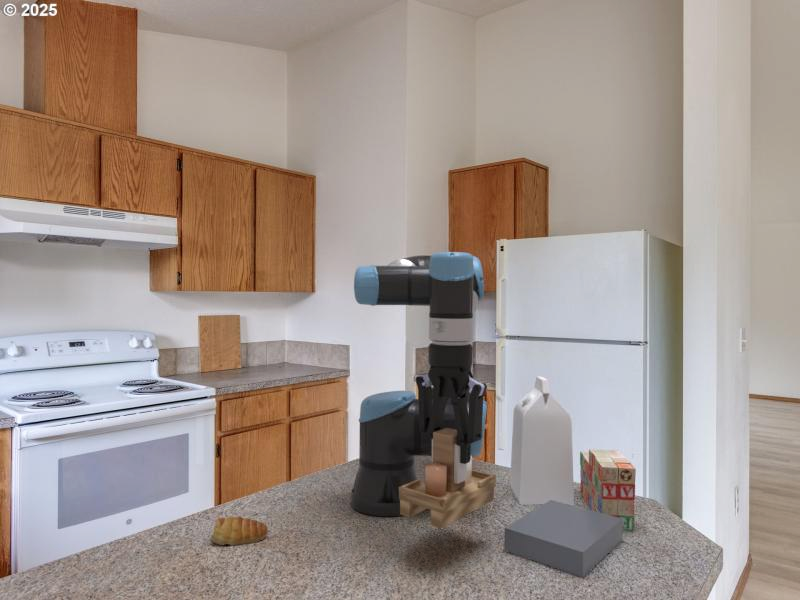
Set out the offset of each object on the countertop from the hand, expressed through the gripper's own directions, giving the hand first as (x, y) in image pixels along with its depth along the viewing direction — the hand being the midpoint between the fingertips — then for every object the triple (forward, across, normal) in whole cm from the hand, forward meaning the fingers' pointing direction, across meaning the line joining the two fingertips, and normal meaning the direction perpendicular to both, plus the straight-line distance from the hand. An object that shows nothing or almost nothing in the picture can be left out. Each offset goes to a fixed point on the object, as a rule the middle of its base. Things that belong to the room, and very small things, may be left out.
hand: (448, 477), depth 97 cm
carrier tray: (+5, 0, 0) cm, 5 cm away
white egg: (+2, 0, +4) cm, 4 cm away
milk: (+13, -1, +36) cm, 39 cm away
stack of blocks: (+13, +13, +37) cm, 42 cm away
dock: (+13, +14, +16) cm, 25 cm away
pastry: (+13, -32, -21) cm, 40 cm away
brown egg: (+2, 0, -4) cm, 4 cm away
